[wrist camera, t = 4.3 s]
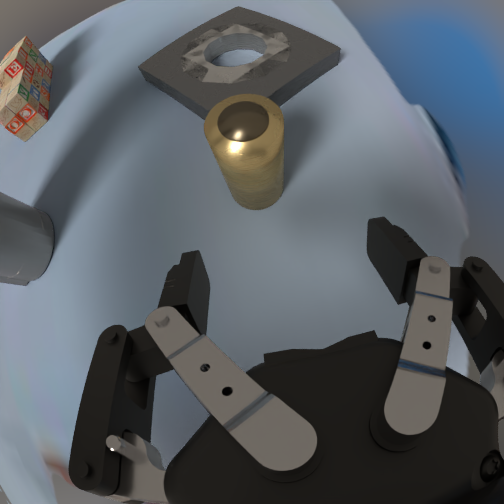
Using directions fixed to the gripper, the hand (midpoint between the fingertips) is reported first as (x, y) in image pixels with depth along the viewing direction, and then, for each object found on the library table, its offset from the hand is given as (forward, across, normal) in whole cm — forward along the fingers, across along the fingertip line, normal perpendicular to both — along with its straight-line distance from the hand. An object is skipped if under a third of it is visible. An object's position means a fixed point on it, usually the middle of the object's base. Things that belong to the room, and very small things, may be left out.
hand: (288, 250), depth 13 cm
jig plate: (+27, 0, +11) cm, 29 cm away
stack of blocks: (+36, -38, +20) cm, 56 cm away
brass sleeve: (+14, -1, -2) cm, 14 cm away
